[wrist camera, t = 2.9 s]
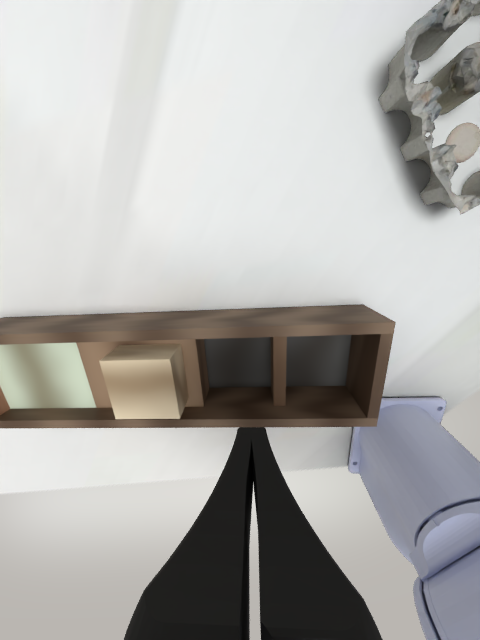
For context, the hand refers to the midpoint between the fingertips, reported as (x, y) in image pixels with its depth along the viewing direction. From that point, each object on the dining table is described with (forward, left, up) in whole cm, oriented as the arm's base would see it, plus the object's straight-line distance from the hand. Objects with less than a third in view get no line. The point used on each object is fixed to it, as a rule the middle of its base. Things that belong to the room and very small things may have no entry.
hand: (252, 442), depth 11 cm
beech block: (0, +8, -7) cm, 11 cm away
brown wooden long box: (0, +7, -10) cm, 12 cm away
